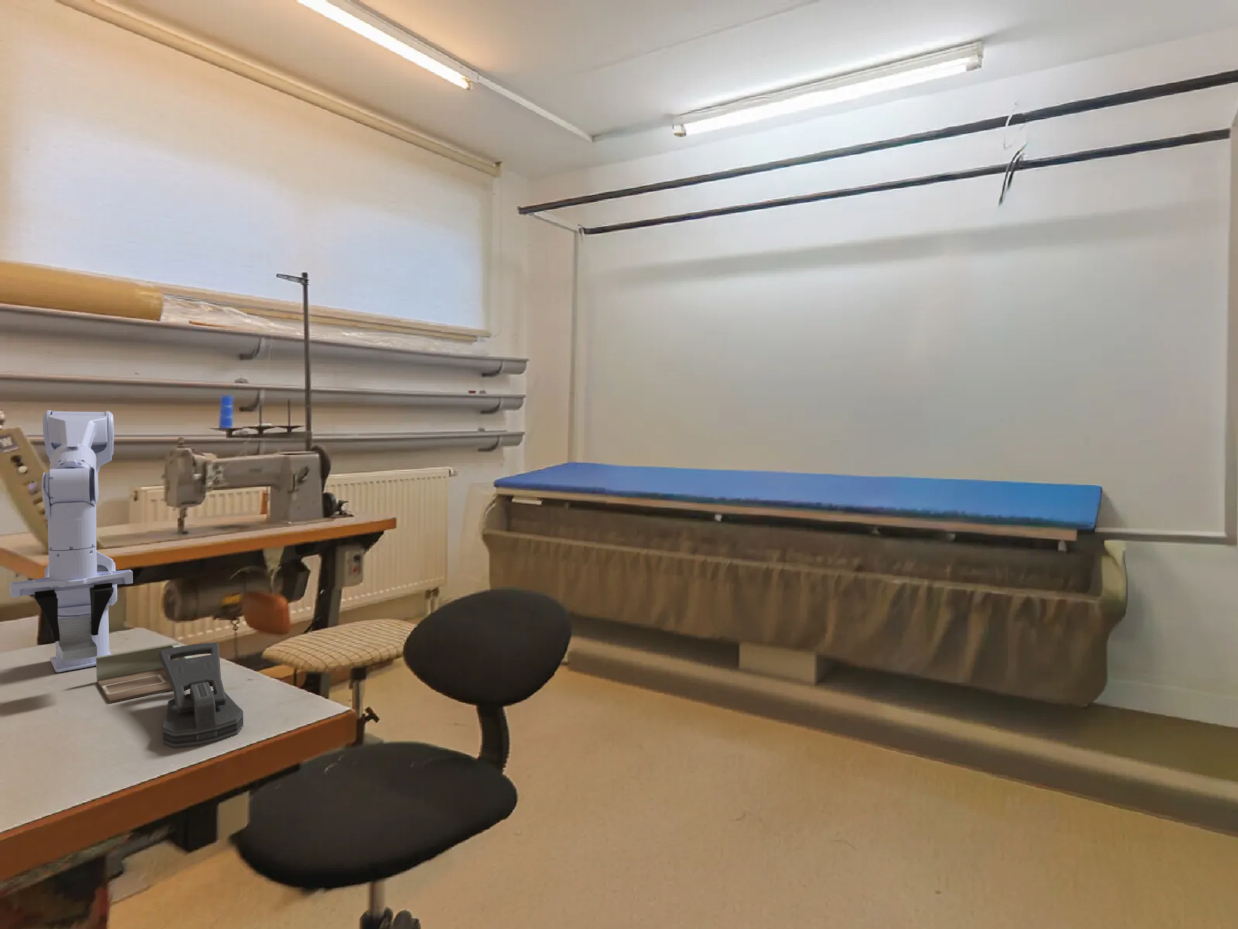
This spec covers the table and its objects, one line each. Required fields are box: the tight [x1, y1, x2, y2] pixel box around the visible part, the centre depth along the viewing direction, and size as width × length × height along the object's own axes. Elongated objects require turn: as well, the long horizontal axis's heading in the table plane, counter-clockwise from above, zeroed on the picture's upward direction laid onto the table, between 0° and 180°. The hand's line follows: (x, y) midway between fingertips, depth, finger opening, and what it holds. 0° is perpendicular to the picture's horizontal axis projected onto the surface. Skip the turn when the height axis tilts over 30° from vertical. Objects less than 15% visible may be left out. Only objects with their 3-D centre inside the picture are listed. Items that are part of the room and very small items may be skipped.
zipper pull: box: [159, 642, 244, 750], centre depth 97 cm, size 9×7×25 cm
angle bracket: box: [57, 614, 97, 662], centre depth 105 cm, size 6×4×5 cm, turn 44°
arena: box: [95, 642, 194, 704], centre depth 109 cm, size 12×11×4 cm
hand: (75, 637), depth 106 cm, fingers closed on angle bracket, 4 cm apart
